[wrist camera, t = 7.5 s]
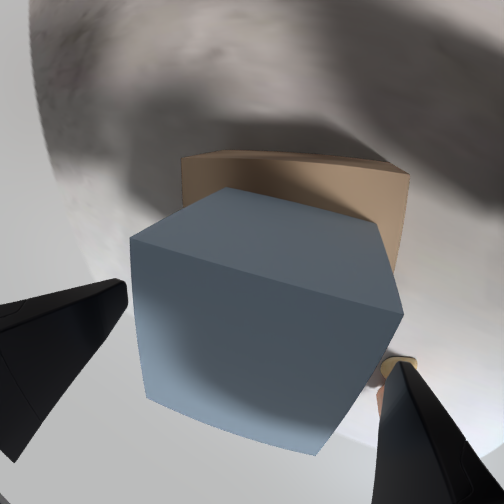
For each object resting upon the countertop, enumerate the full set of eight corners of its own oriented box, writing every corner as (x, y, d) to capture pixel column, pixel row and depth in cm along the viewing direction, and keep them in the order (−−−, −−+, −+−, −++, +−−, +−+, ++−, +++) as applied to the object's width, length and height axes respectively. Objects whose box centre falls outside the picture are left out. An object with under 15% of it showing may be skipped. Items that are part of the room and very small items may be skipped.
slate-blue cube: (376, 223, 10) (404, 314, 5) (333, 344, 13) (315, 455, 8) (225, 187, 12) (129, 237, 6) (212, 309, 14) (146, 397, 9)
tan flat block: (389, 162, 14) (410, 174, 9) (365, 309, 17) (367, 365, 13) (225, 149, 16) (180, 158, 12) (227, 289, 20) (194, 334, 15)
